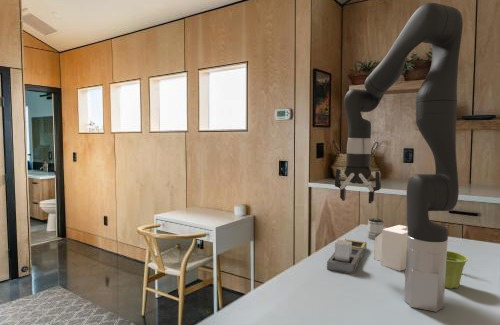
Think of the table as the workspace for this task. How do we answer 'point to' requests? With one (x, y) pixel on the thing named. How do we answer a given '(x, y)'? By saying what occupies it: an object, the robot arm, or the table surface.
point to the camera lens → (375, 228)
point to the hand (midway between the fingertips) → (356, 201)
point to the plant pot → (454, 269)
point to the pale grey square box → (343, 251)
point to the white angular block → (392, 247)
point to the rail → (357, 254)
